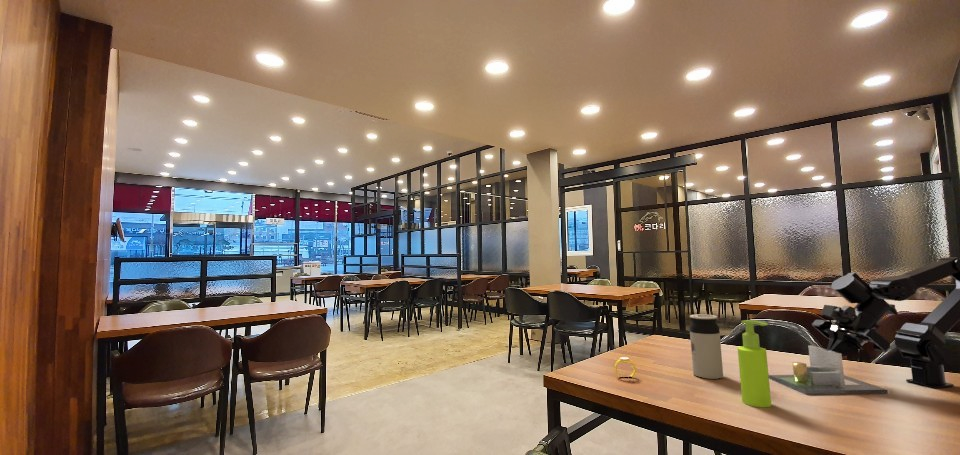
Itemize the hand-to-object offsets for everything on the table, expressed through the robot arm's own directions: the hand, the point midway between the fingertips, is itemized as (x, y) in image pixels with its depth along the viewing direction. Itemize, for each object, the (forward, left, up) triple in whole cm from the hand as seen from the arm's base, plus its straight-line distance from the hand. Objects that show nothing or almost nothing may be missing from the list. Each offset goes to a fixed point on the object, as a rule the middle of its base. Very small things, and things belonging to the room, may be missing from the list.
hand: (827, 356), depth 108 cm
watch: (+48, -23, -8) cm, 54 cm away
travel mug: (+24, -17, -8) cm, 30 cm away
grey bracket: (+3, -1, -6) cm, 7 cm away
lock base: (+2, 0, -8) cm, 8 cm away
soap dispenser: (+30, +6, -8) cm, 31 cm away
